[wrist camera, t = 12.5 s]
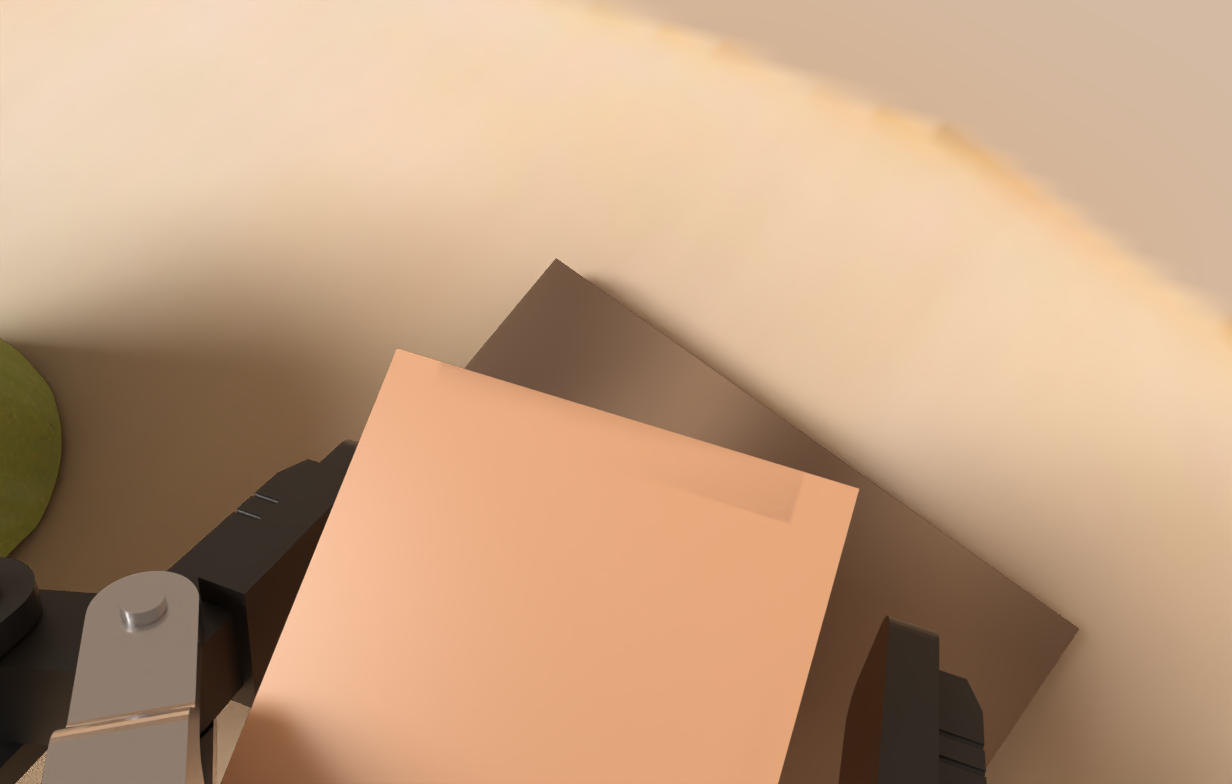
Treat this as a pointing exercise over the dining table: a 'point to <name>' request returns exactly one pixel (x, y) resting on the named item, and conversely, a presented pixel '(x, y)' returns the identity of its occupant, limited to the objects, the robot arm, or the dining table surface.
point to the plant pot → (25, 447)
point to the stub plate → (880, 525)
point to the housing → (545, 601)
